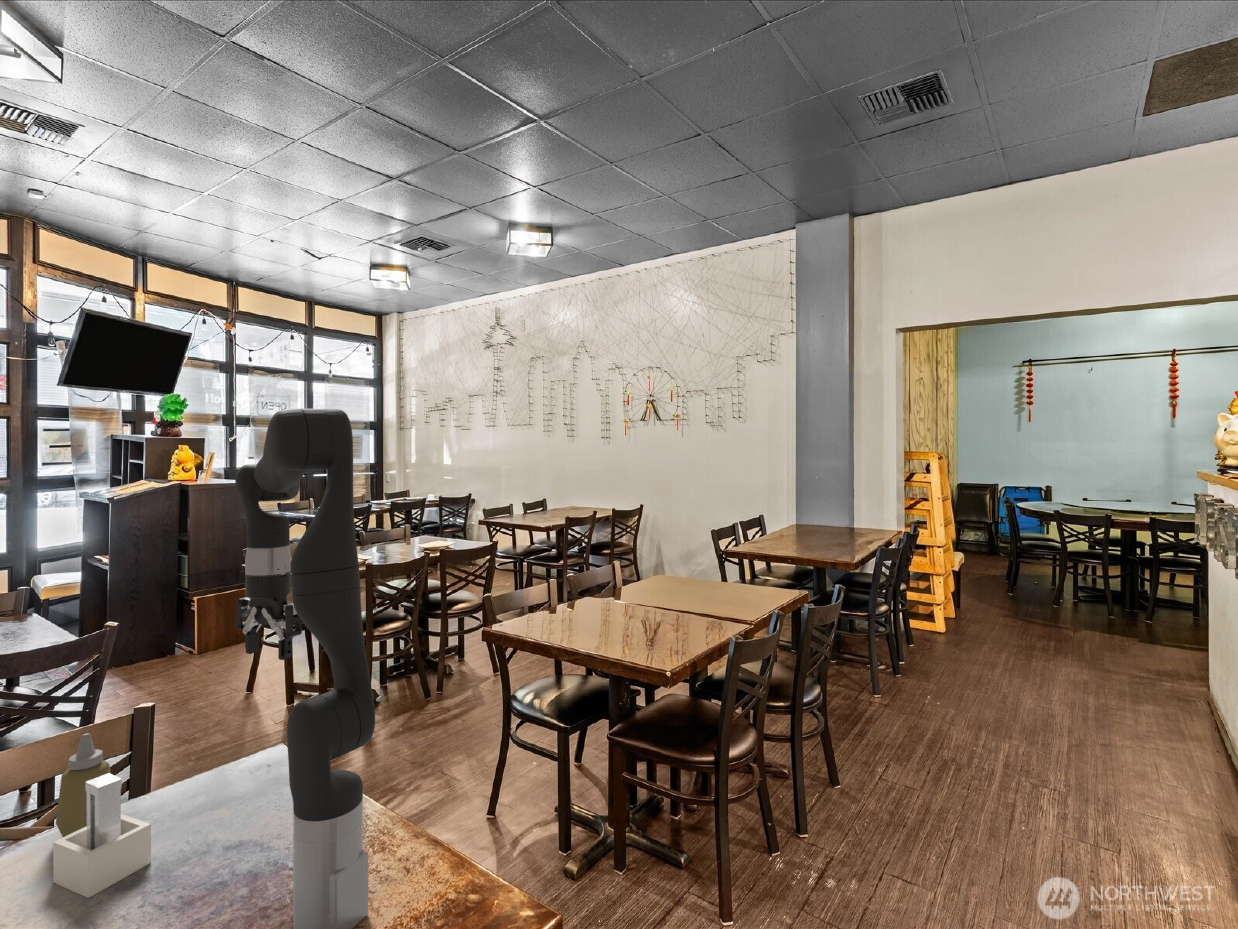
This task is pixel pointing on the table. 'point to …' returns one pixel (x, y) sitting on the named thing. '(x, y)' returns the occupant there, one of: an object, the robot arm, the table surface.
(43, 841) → the table surface
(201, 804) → the table surface
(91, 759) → the squeeze bottle
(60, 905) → the table surface
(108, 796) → the grey arch block
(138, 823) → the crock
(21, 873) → the table surface
